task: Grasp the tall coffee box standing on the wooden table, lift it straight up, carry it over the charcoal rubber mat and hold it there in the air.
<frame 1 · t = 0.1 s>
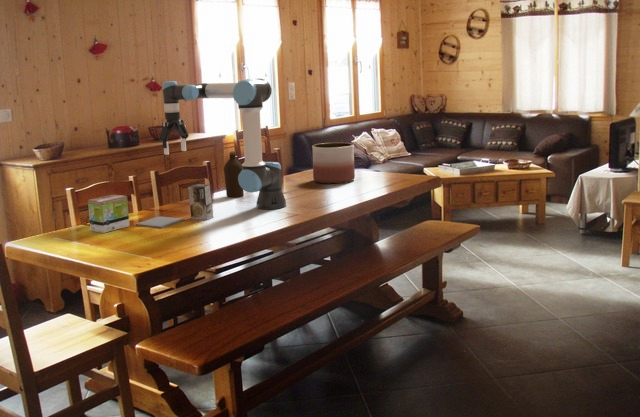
hand: (175, 152, 352), 28 cm above the table, fingers open, 13 cm apart
planter: (334, 181, 413), on the table
olive oil: (235, 196, 376), on the table
coffee box: (202, 218, 326), on the table
charcoal mat: (160, 222, 319), on the table
remote control: (251, 186, 409), on the table
tea box: (110, 229, 312), on the table
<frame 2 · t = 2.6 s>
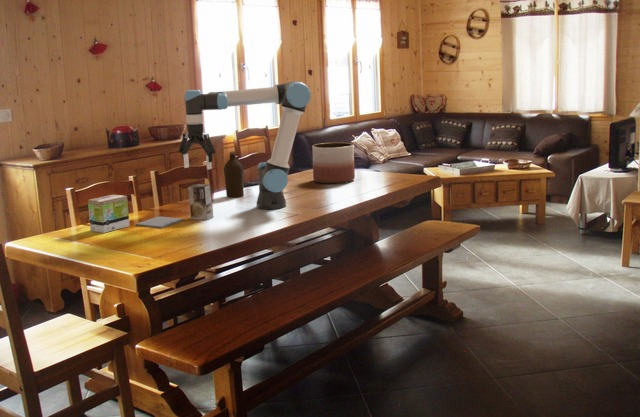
hand: (198, 168, 320), 24 cm above the table, fingers open, 13 cm apart
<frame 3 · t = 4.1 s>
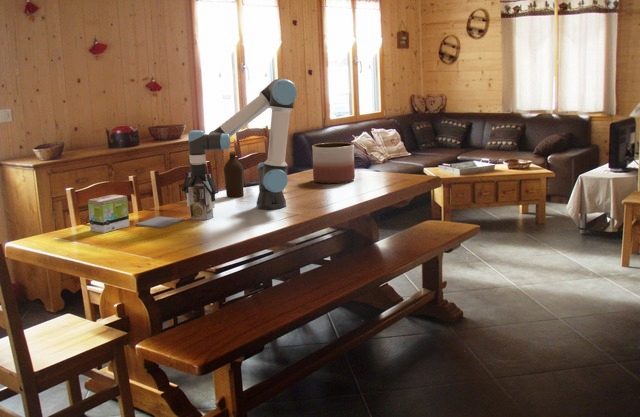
hand: (200, 207, 324), 5 cm above the table, fingers open, 13 cm apart
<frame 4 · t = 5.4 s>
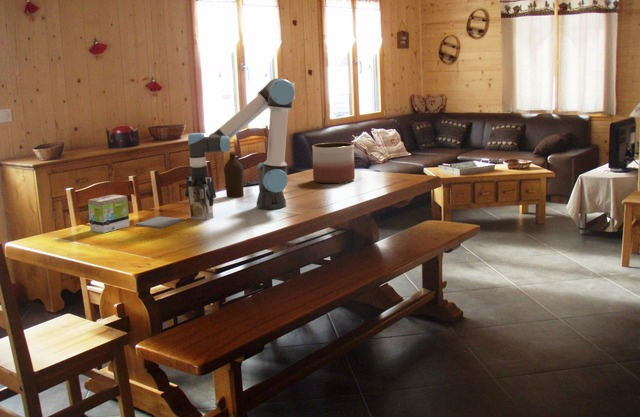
hand: (201, 211, 325), 3 cm above the table, fingers closed on coffee box, 10 cm apart
coffee box: (202, 218, 326), on the table, touching gripper
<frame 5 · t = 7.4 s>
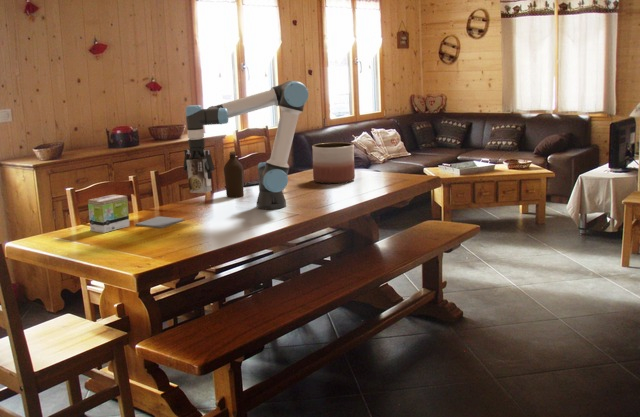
hand: (200, 185, 322), 16 cm above the table, fingers closed on coffee box, 10 cm apart
coffee box: (200, 192, 323), point 13 cm above the table, touching gripper
everything else where it was.
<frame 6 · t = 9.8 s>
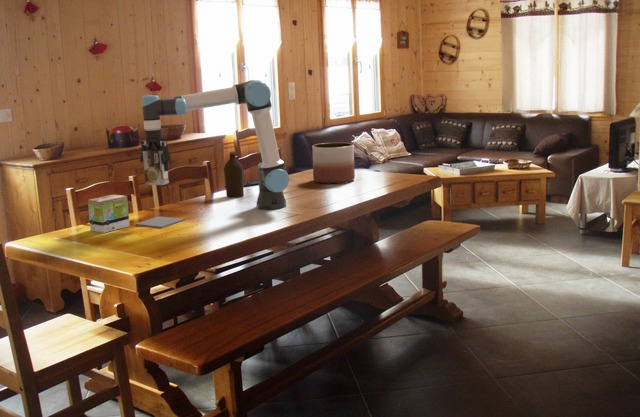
hand: (156, 177, 314), 22 cm above the table, fingers closed on coffee box, 10 cm apart
coffee box: (157, 184, 315), point 19 cm above the table, touching gripper
everything else where it was.
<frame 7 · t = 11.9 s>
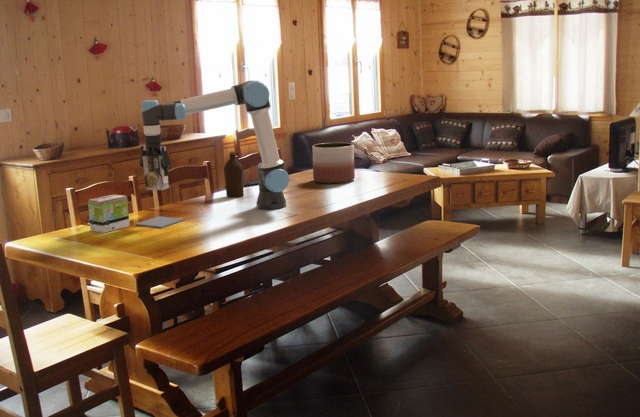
hand: (156, 182, 315), 20 cm above the table, fingers closed on coffee box, 10 cm apart
coffee box: (157, 189, 316), point 16 cm above the table, touching gripper
everything else where it was.
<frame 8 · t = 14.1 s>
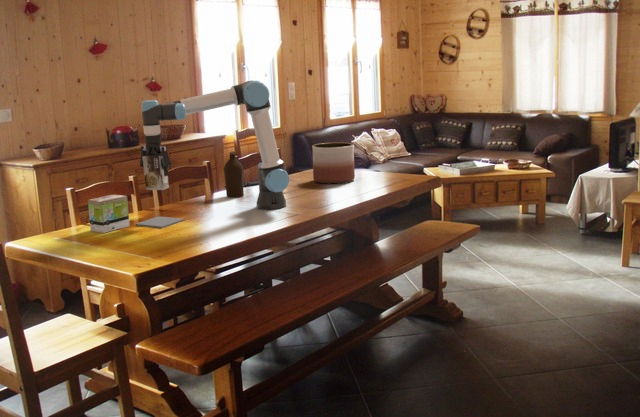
hand: (156, 182, 315), 20 cm above the table, fingers closed on coffee box, 10 cm apart
coffee box: (157, 189, 316), point 16 cm above the table, touching gripper
everything else where it was.
at the end: the gripper is holding coffee box; coffee box point 16.2 cm above the table; coffee box 0.0 cm from the charcoal mat (horizontally) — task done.
